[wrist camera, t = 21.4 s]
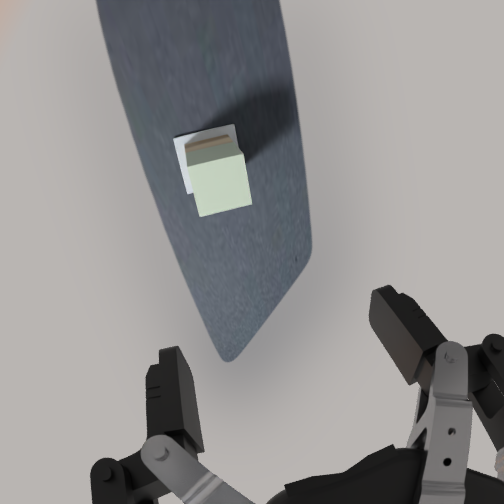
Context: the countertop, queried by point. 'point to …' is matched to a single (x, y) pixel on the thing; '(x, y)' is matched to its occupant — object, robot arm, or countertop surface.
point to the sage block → (218, 178)
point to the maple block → (207, 143)
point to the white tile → (199, 136)
